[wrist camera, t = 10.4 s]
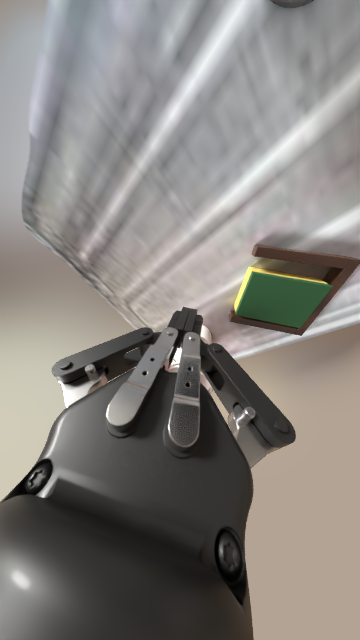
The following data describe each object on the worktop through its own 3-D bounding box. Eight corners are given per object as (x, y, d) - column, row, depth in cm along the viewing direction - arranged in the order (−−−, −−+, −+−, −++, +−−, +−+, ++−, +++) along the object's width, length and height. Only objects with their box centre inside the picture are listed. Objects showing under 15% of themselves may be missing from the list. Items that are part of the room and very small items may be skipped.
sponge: (248, 266, 22) (253, 273, 19) (318, 278, 21) (333, 286, 18) (233, 305, 26) (235, 315, 23) (291, 316, 25) (300, 328, 22)
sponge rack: (254, 244, 20) (257, 246, 19) (350, 257, 19) (362, 260, 17) (229, 315, 27) (229, 321, 26) (296, 328, 26) (301, 335, 24)
